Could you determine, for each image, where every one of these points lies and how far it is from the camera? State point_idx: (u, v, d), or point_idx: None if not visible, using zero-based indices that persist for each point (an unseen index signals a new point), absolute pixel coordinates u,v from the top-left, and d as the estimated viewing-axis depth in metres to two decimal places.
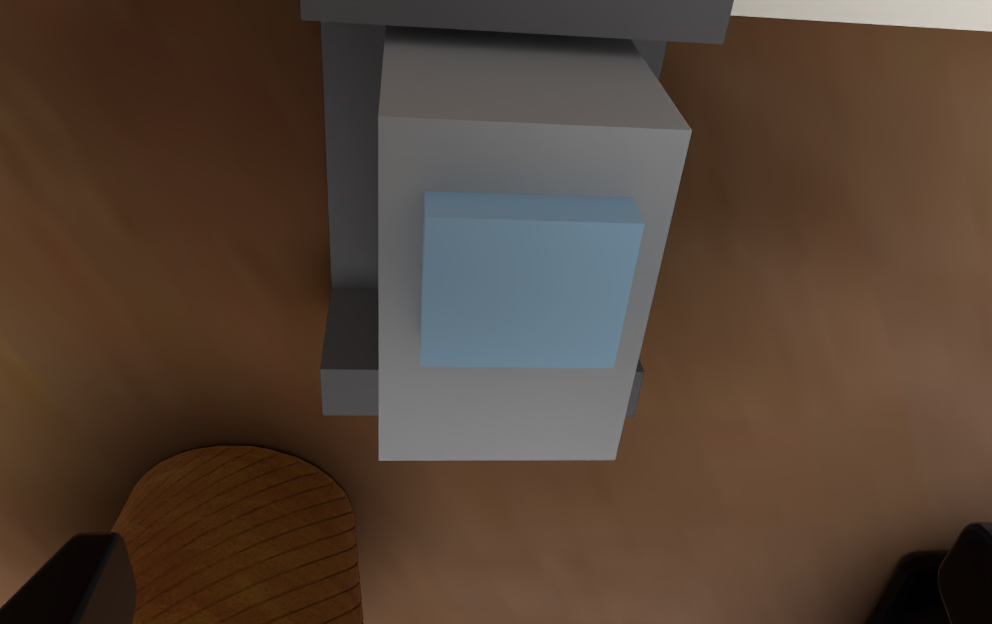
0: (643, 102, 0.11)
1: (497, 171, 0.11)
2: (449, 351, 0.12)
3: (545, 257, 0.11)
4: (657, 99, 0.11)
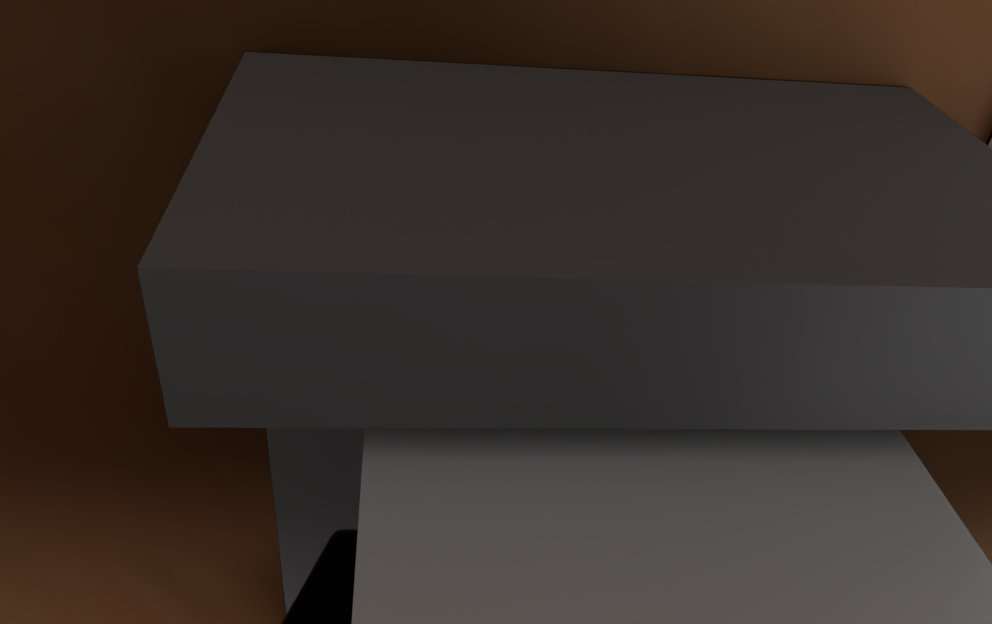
0: None
1: None
2: None
3: None
4: None
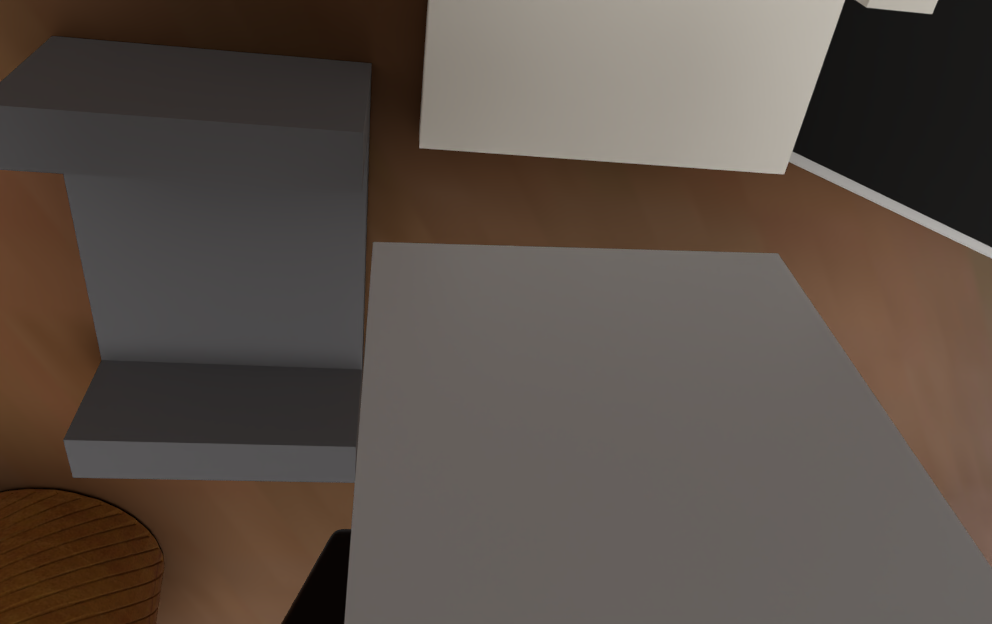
0: None
1: None
2: None
3: None
4: None
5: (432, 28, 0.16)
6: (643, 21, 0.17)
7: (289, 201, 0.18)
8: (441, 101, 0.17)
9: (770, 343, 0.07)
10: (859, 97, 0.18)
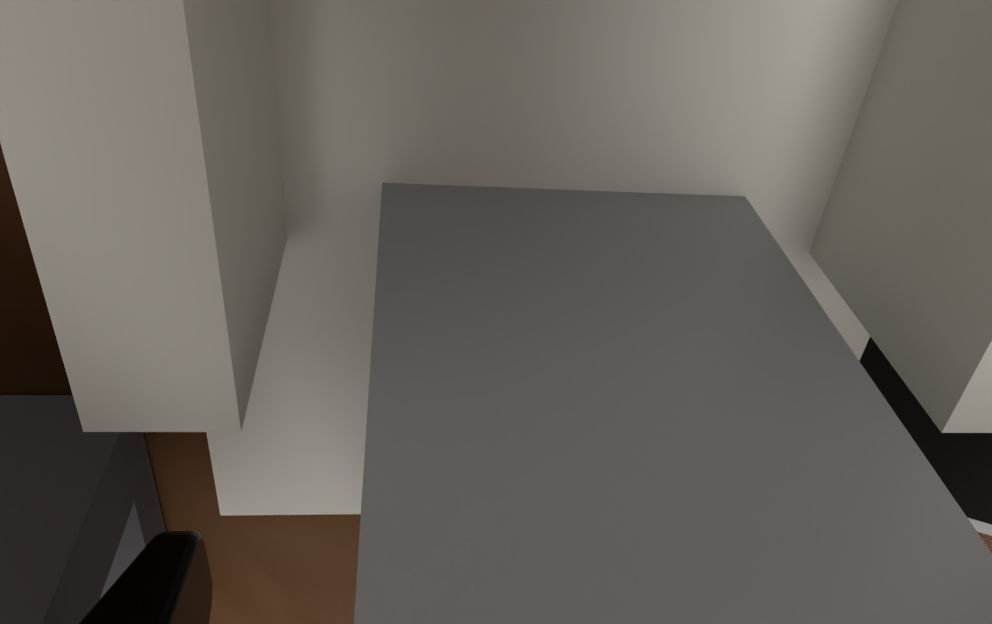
0: (911, 526, 0.05)
1: None
2: None
3: None
4: (933, 509, 0.06)
5: None
6: None
7: None
8: (241, 459, 0.11)
9: (732, 267, 0.08)
10: (909, 402, 0.12)
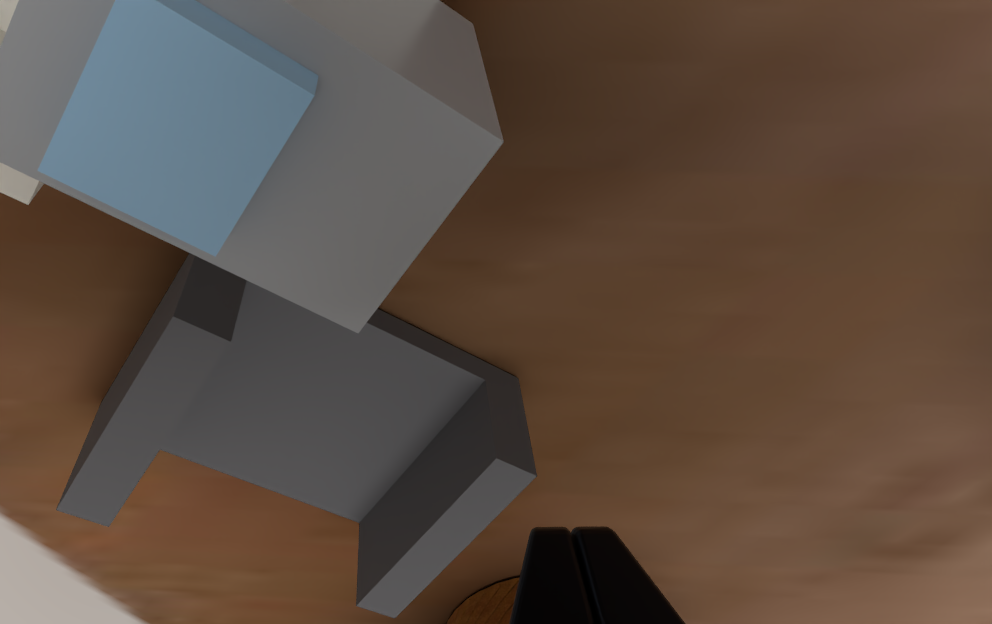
0: None
1: (57, 78, 0.11)
2: (208, 226, 0.11)
3: (128, 94, 0.10)
4: None
5: None
6: None
7: (287, 348, 0.20)
8: None
9: None
10: None
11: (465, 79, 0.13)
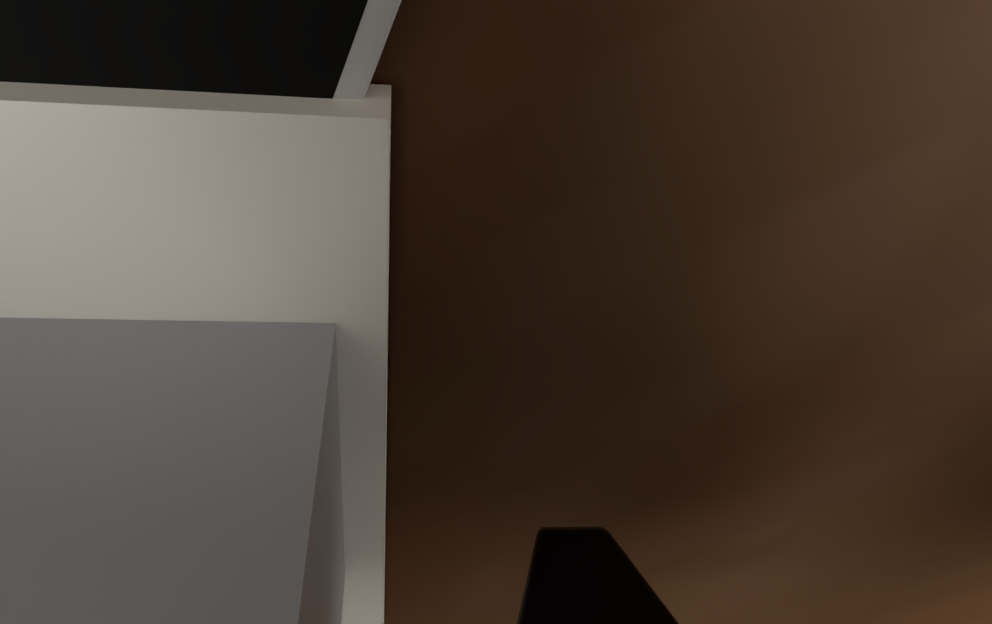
0: None
1: None
2: None
3: None
4: None
5: None
6: None
7: None
8: None
9: None
10: None
11: None
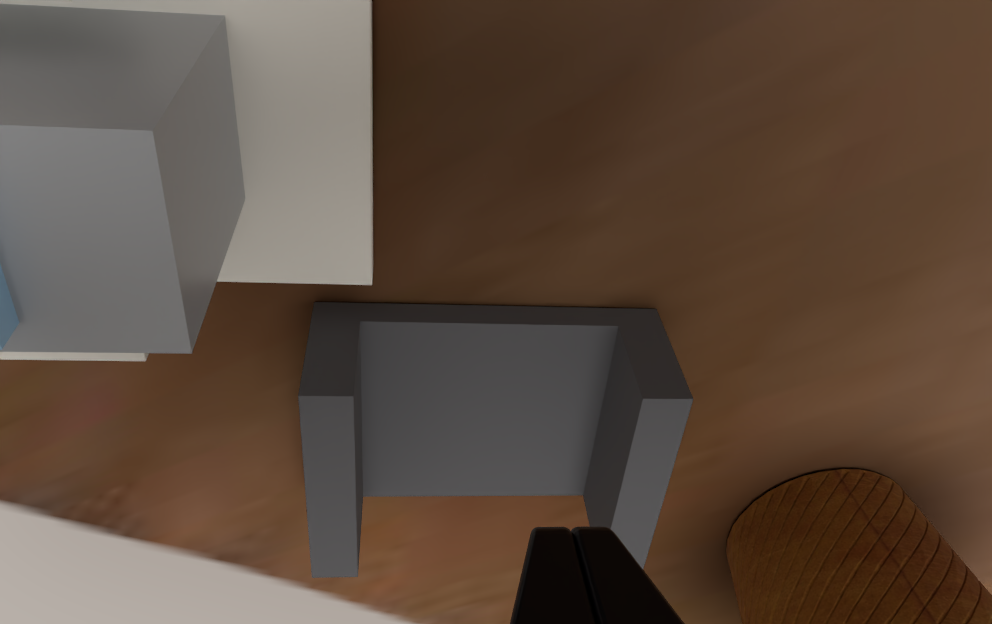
0: None
1: None
2: None
3: None
4: None
5: (261, 279, 0.20)
6: None
7: (430, 374, 0.22)
8: (325, 270, 0.20)
9: None
10: None
11: (146, 85, 0.13)
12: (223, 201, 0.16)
